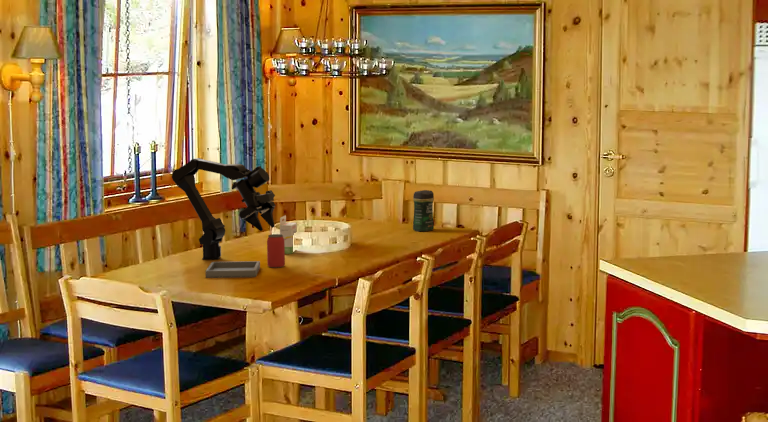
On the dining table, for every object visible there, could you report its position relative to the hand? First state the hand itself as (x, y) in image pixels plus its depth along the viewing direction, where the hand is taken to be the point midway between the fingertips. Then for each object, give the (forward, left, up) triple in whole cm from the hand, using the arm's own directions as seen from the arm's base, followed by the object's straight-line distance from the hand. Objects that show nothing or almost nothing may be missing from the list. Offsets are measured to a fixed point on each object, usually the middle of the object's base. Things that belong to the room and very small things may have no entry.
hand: (267, 228), depth 402 cm
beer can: (+4, -8, -13) cm, 16 cm away
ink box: (+7, +23, -13) cm, 27 cm away
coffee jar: (+66, +75, -13) cm, 100 cm away
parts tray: (-11, -19, -13) cm, 26 cm away
